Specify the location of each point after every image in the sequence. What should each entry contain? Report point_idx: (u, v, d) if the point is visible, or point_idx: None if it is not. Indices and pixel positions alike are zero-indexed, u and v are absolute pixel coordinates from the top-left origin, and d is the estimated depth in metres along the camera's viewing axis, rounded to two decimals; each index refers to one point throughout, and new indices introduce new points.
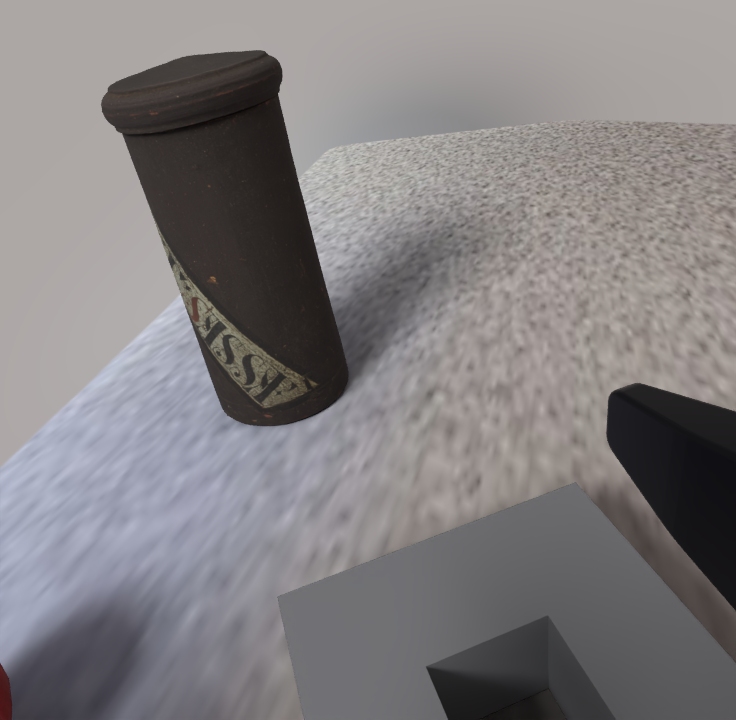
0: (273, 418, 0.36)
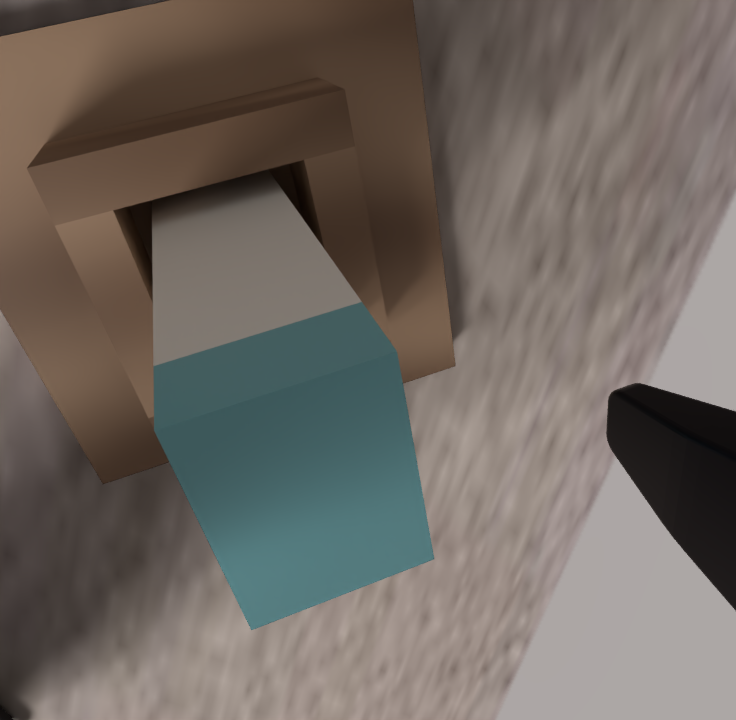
0: None
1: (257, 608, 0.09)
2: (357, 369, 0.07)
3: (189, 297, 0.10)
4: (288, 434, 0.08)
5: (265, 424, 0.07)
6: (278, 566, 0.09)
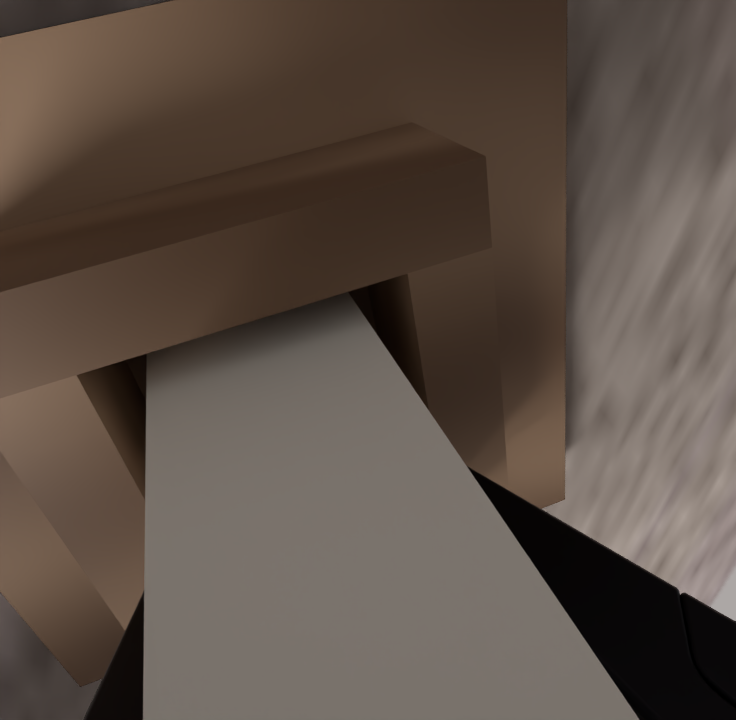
0: None
1: None
2: None
3: (229, 688, 0.04)
4: None
5: None
6: None
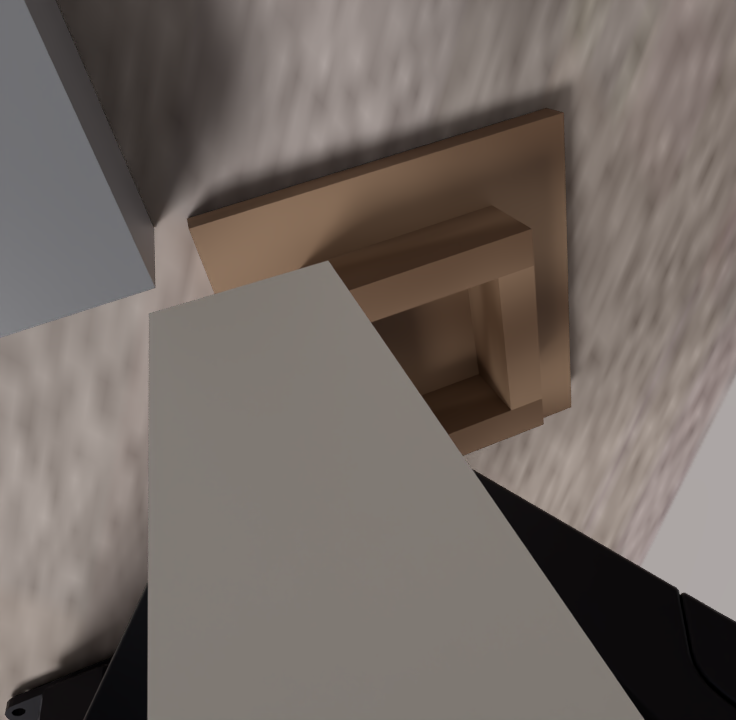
0: None
1: None
2: None
3: (233, 686, 0.04)
4: None
5: None
6: None
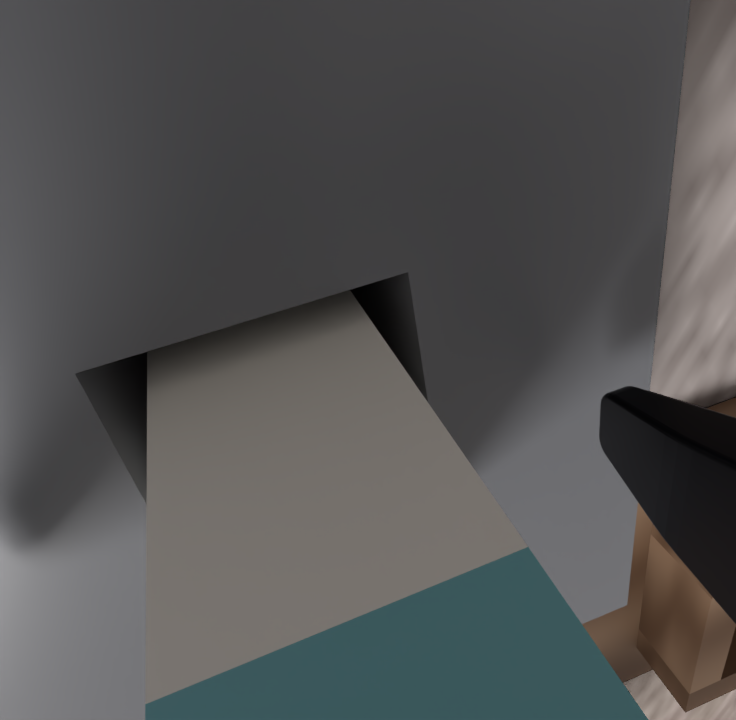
0: None
1: None
2: None
3: (207, 494, 0.06)
4: None
5: None
6: None
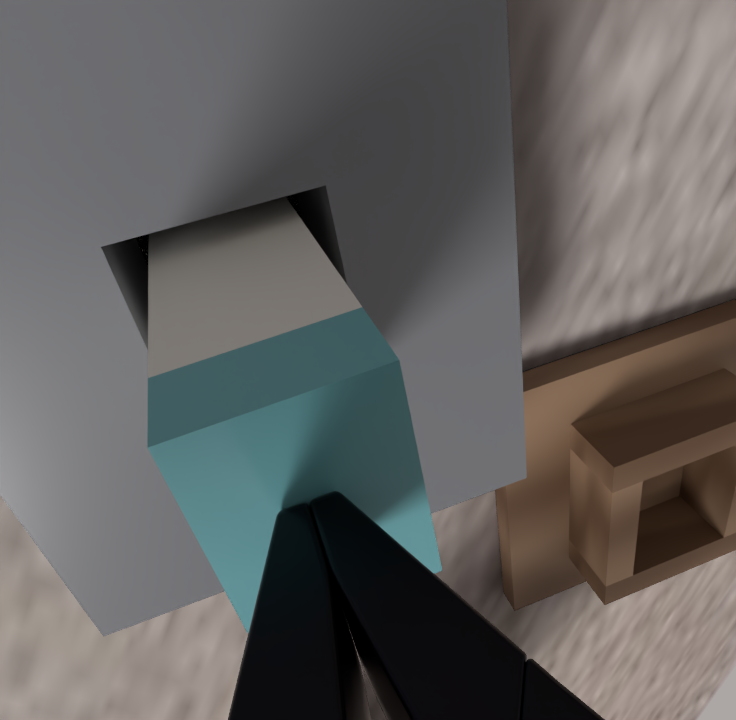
0: None
1: None
2: (358, 379, 0.07)
3: (186, 304, 0.10)
4: (287, 447, 0.07)
5: (263, 436, 0.07)
6: None
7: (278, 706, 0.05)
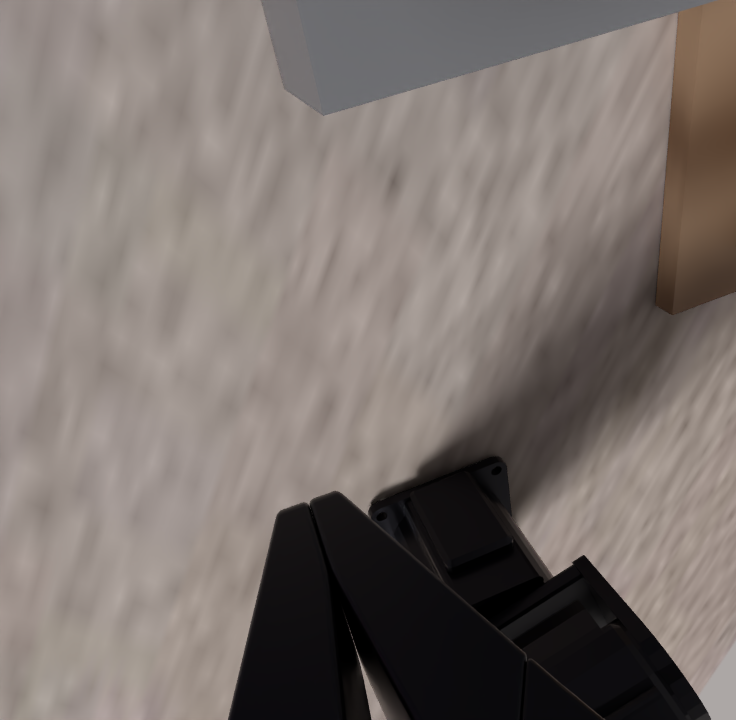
0: None
1: None
2: None
3: None
4: None
5: None
6: None
7: (278, 706, 0.05)
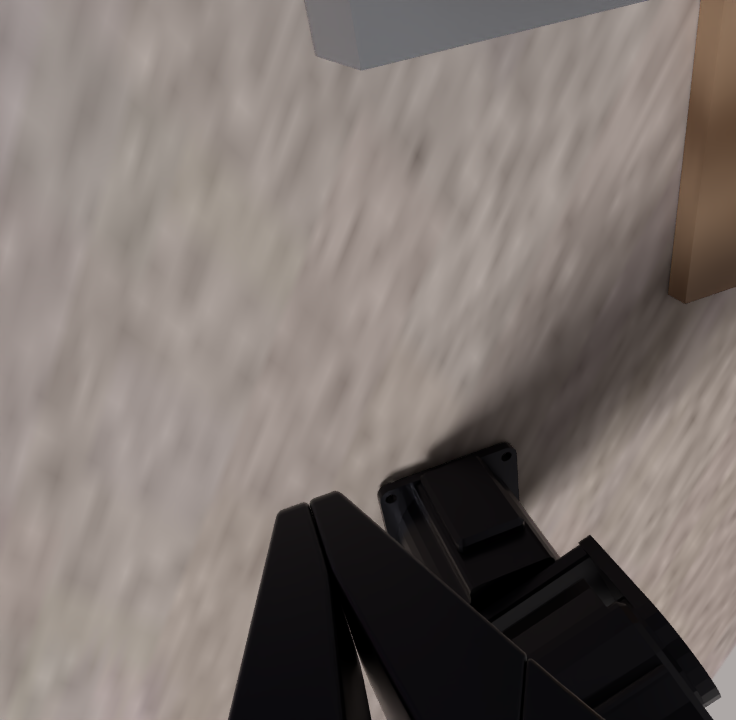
0: None
1: None
2: None
3: None
4: None
5: None
6: None
7: (278, 706, 0.05)
